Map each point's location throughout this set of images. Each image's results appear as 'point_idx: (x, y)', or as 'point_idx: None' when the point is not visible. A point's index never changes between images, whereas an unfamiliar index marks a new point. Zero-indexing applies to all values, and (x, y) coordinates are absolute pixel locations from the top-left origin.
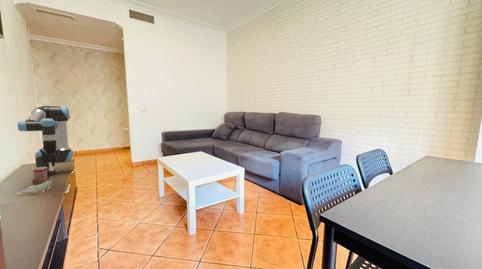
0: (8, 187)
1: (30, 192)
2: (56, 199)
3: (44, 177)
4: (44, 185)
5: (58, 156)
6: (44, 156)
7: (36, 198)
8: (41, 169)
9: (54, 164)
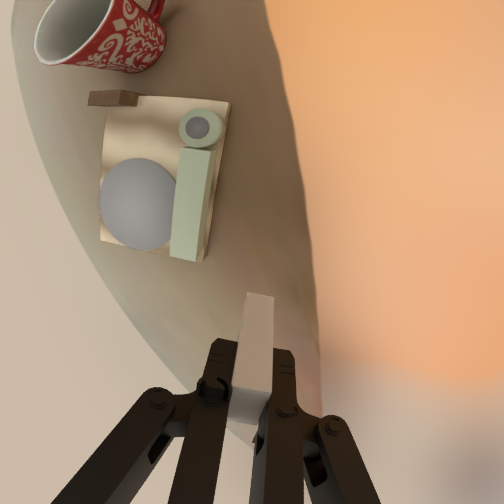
0: (32, 102)
1: (158, 249)
2: (310, 338)
3: (138, 46)
4: (202, 214)
5: (374, 488)
6: (132, 494)
7: (216, 300)
8: (83, 45)
9: (291, 375)
